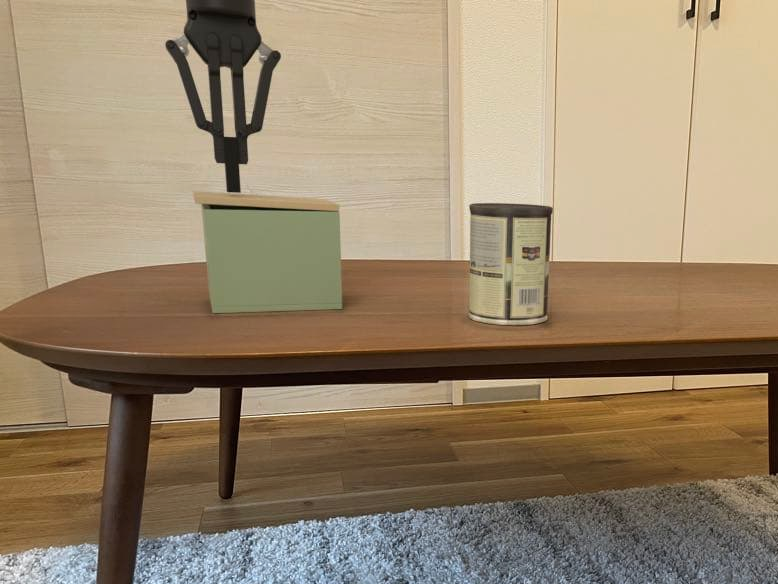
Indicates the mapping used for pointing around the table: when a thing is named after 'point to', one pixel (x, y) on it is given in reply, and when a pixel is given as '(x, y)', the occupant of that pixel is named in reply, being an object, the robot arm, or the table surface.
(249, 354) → the table surface
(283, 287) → the chest
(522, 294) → the coffee can
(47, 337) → the table surface
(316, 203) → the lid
